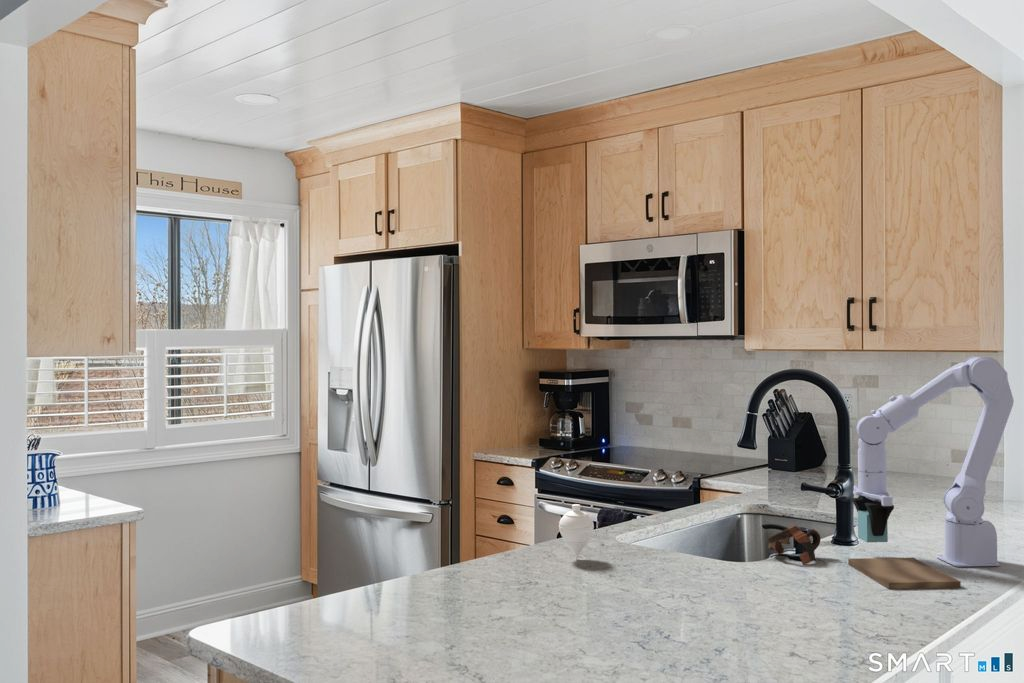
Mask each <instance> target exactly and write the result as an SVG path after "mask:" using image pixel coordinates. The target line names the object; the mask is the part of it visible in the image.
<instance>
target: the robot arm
mask: <svg viewBox="0 0 1024 683" xmlns="http://www.w3.org/2000/svg"><path fill="white" fill-rule="evenodd" d="M967 387H973V389H975V390H976V393H978V395H979V397H980V398H981V400H982V402H984V406H983V408H982V411H981V413H980V417H979V419H978V422H977V425H976V428H975V429H974V433H973V435H972V438H971V439H972V440H971V441H970V444H969V447H968V449H967V453H966V455H965V457H964V462H963V463H962V466H961V470H960V472H959V474H957V476H956V477H955V479H954V481H953V483H952V485H951V487H949V488H947V490H946V491H945V493H944V494H943V504H944V506H945V508H946V509H947V510H948V511H947V514H946V515H945V516H944V554H937V555H936V558H937V559H940V560H941V561H944V562H945V563H948V564H950V565H952V566H954V567H957V568H958V567H999V566H1000V563H999V562H998V534H997V530H996V527H995V525H994V524H993V523H992V522H991V521H990V520H986V519H985V520H984V519H983V518H982V517H983V515H984V513H985V503H984V498H985V496H986V490H987V489H986V481H987V478H988V476H989V473H990V470H991V467H992V464H993V463H994V462H993V461H994V459H995V456H996V454H997V451H998V448H999V445H1000V442H1001V440H1002V438H1003V437H1002V436H1003V434H1004V431H1005V428H1006V426H1007V423H1008V420H1009V417H1010V415H1011V412H1012V408H1013V406H1014V397H1013V394H1012V393H1013V392H1012V389H1011V386H1010V383H1009V378H1008V372H1007V370H1006V369H1005V368H1004V367H1003V366H1002V365H1001V363H1000V362H999V360H997V359H996V358H993V357H990V356H979V355H973V356H970V357H967V358H966V359H964V361H963V362H959V363H956V364H954V365H953V366H950V367H949V368H948V369H945V370H944V371H943V372H941V373H940V374H939V375H937V376H936V377H934V378H933V379H932V380H930V381H929V382H927V383H926V384H925V385H923V386H922V387H920V388H918V389H917V390H916V391H914V392H913V393H912V394H910V395H907V394H906V395H905V394H898V395H897V396H895V395H892V396H891V397H889V399H888V400H889V401H888V402H887V403H885V404H884V405H882V406H880V407H879V408H877V409H872V410H870V414H871V415H866V416H864V417H861V418H860V420H858V422H857V424H856V427H855V432H856V434H857V436H858V437H859V438H858V441H857V446H858V449H857V482H858V483H857V484H858V485H853V491H852V494H853V495H855V496H857V497H851V502H852V504H853V505H854V507H855V509H856V512H857V513H858V511H868V513H869V516H870V521H871V530H872V534H873V536H883V535H884V532H885V528H886V524H887V525H888V520H889V517H890V515H891V513H892V511H894V509H895V505H894V503H893V496H891V495H890V494H889V492H888V491H887V451H886V443H885V441H886V439H887V438H888V434H889V433H894V432H895V431H896V430H898V429H900V428H902V427H903V426H904V425H906V424H908V423H910V422H911V421H912V420H914V419H915V418H917V417H918V416H919V411H920V408H921V407H924V405H926V404H928V403H930V402H931V401H933V400H935V399H936V398H938V397H940V396H941V395H944V394H945V393H946V392H948V391H950V390H952V389H954V388H967Z"/></svg>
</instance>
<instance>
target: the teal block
mask: <svg viewBox="0 0 1024 683" xmlns="http://www.w3.org/2000/svg"><path fill="white" fill-rule="evenodd" d="M888 532H889V531H888V523H887V524H886V528H885V532H884V535H883V536H873V534H872V530H871V521H870V516H869V513H868V511H858V512H857V538H858V539H860V540H861V541H863V542H866V543H888V541H889V540H888V537H889V536H888V535H889V534H888Z"/></svg>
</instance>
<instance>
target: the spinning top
mask: <svg viewBox="0 0 1024 683" xmlns="http://www.w3.org/2000/svg"><path fill="white" fill-rule="evenodd" d="M581 506H582V505H581V504H577V503H573V504H571V510H569V511H567V512H566V513H564V514H563V516H562V517H561V518H560V520H559V522H558V529H559V533H560V535H561V537H562V539H563V541H564V543H565V544H566V546H567V547H568V548H569V549H570V551H571V552H572V553H573V554H574V556H575V559H576V558H577V559H578V555H580V554H581V552H582V551H583V550H584V549H585V547H586V545H587V544H588V542H589V541H590V540H591V537H592V536H593V533H594V528H595V525H594V521H593V519H592V518H591V516H590V515H589V514H588V513H587V512H585V511H582V510H581Z"/></svg>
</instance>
